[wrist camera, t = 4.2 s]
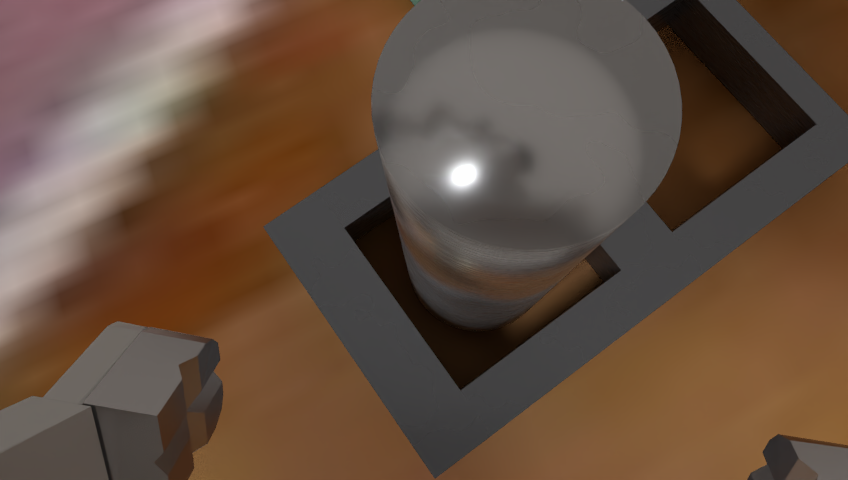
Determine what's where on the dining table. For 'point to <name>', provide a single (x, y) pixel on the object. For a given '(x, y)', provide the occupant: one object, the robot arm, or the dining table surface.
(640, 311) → the grey double frame
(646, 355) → the dining table surface
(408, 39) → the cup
